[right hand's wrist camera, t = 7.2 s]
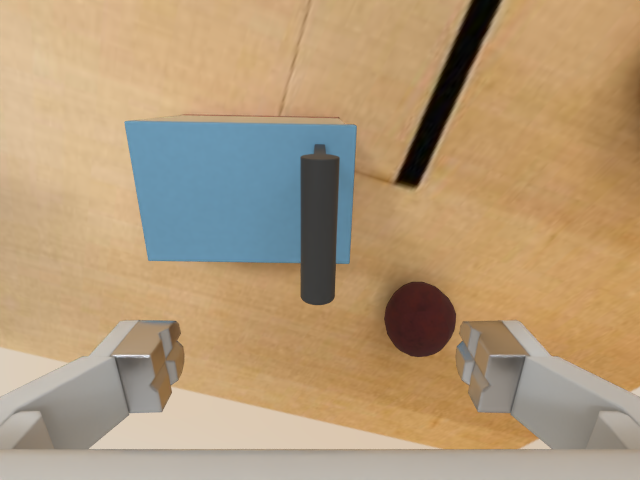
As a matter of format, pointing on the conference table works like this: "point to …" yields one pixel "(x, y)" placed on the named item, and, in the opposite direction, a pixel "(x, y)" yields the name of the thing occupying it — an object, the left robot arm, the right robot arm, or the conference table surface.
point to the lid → (247, 194)
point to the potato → (419, 319)
